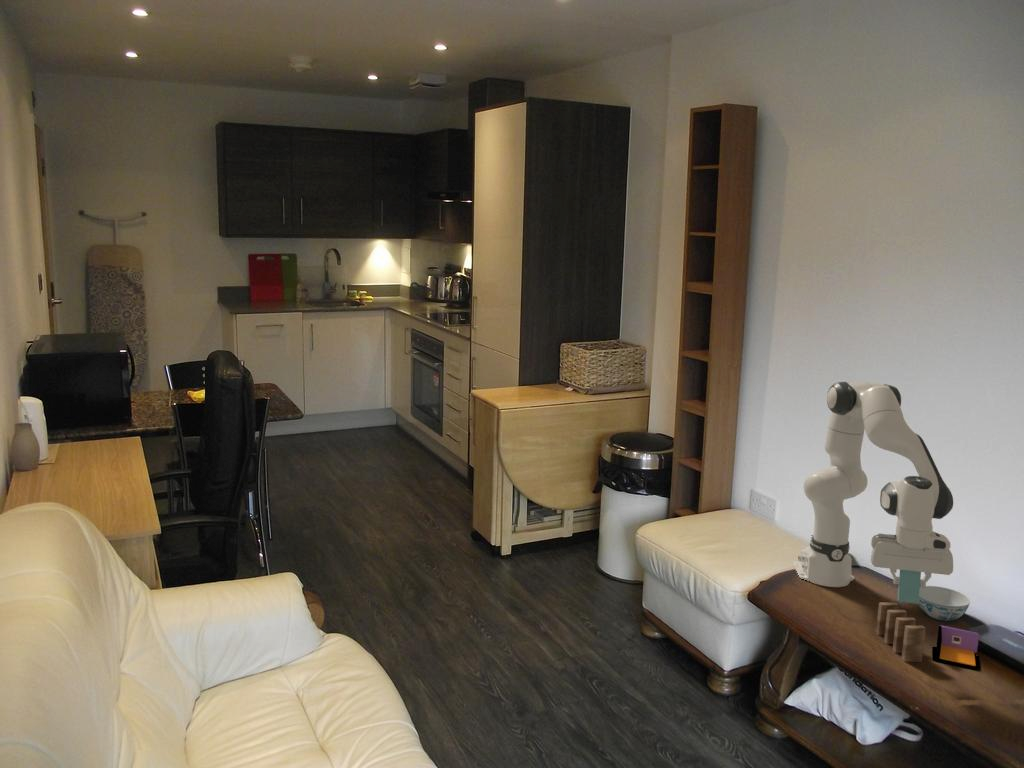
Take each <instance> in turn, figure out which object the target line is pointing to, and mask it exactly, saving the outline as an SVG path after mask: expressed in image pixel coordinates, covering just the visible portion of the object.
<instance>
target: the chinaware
mask: <svg viewBox="0 0 1024 768" xmlns="http://www.w3.org/2000/svg"><path fill="white" fill-rule="evenodd" d="M970 604H971V600H970V598H969V597H968V596H967V595H966V594H964V593H961V592H960V591H957V590H954V589H952V588H951V589H950V588H948V587H943V586H934V585H926V588H922V587H920V589H919V600H918V604H917V605H918V606H919V607H920V609H921V610H922V612H924V613H925V615H927V616H929V617H930V618H932V619H935V620H939V621H943V622H944V621H945V622H949V621H955V620H957V619H959V618H960V617H962V616H963V615H965V613H966V612H967V610H968V608H969V607H970Z"/></svg>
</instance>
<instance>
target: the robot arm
mask: <svg viewBox="0 0 1024 768" xmlns="http://www.w3.org/2000/svg"><path fill="white" fill-rule="evenodd" d="M826 402H827V407H828V409H829V410H830V411H831V414H830V417H829V422H828V428H827V431H826V437H825V444H824V449H825V452H826V453H827V454H828V455H829V459H830V465H829V468H827V469H822V470H818V471H815V472H813V473H812V474H811V475H808V476H807V478H806V479H805V480H804V482H803V491H804V494H805V496H806V498H807V499H808V500H809V501H810V502H811V504H812V507H813V513H814V520H813V521H814V522H813V523H814V524H813V534H812V535H810V536H811V537H810V538H811V539H810V542H809V545H808V546H807V547H805V548H802V550H801V551H800V554H798V555H797V560H793V561H792V564H793V567H794V570H795V572H796V571H797V572H796V574H797V573H798V574H797V576H798V575H799V577H800V578H801V579H804V580H803V581H805V580H807V581H806V582H809V581H810V583H813V584H815V585H817V586H821V587H822V586H823V587H828V588H842V587H843V588H844V587H846V586H849V584H850V583H851V582H852V581H854V580H855V576H854V575H852V556H851V555H850V554H849V552H850V548H849V547H850V542H849V535H850V526H851V520H850V518H849V516H848V515H847V514H846V513H845V511H844V501H845V500H848V499H852V498H855V497H857V496H858V495H860V494H862V493H863V492H865V490H866V489H867V487H868V477H867V474H866V473H865V471H864V470H863V468H862V462H861V452H862V447H863V440H864V435H865V433H866V436H867V438H868V440H869V442H871V443H872V444H873V445H874V446H876V447H878V448H879V449H882V450H884V451H888V452H891V453H894V454H897V455H900V456H902V457H904V458H906V459H907V460H909V462H911V463H912V465H913V466H914V468H915V471H916V472H917V475H908V476H906V477H904V478H902V480H900V481H899V480H898V481H891V482H887V483H886V484H885V485H884V486H883V487H882V488H881V491H880V495H879V496H880V498H879V501H880V502H879V503H880V507H881V508H882V509H883V510H884V511H885V513H887V514H888V515H891V516H893V517H894V516H896V517H897V522H896V526H895V527H896V528H895V529H896V530H895V534H889V533H888V534H885V533H877V534H874V535H873V536H872V538H871V541H870V542H871V543H870V544H871V547H872V550H871V555H870V562H871V565H872V566H874V567H875V568H880V569H881V568H883V569H889V571H890V573H891V575H892V577H893V580H892V581H893V585H898V586H899V585H900V578H899V576H897V575H896V573H897V570H899V571H900V570H907V571H916V572H921V573H924V577H923V578H922V579H921V578H920V587H922V588H926V586H927V582H928V581H929V580H930V579H931V578H932V574H934V575H935V574H936V575H944V576H945V575H946V576H950V575H952V574H953V572H954V556H953V554H952V552H951V550H950V548H951V542H950V540H949V538H948V537H946V536H945V535H943V534H941V533H939V532H936V531H934V529H933V528H934V527H933V524H932V523H933V522H932V520H933V519H936V520H941V519H943V518H944V517H946V516H947V515H948V514H949V513H951V511H952V510H953V507H954V498H953V494H952V492H951V489H950V488H949V486H948V485H947V484H946V482H945V481H944V479H943V478H942V476H941V473H940V471H939V469H938V467H937V465H936V463H935V461H934V459H933V457H932V454H931V452H930V451H929V448H928V446H927V445H926V443H925V441H924V440H923V438H922V436H920V434H918V433H917V432H914V430H912V428H911V427H910V426H909V425H908V423H907V421H906V420H905V417H904V414H903V411H902V408H901V406H902V394H901V393H900V391H899V389H898V388H897V387H896V386H894V385H891V384H887V383H883V384H882V383H875V382H871V381H863V382H862V381H861V382H860V381H859V382H858V381H855V382H854V381H853V382H851V381H850V382H847V381H837V382H834V383H833V384H832V385H831V386H830V387H829V388H828V391H827V397H826ZM799 577H798V578H799ZM801 579H800V580H801Z"/></svg>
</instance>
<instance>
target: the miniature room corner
mask: <svg viewBox="0 0 1024 768" xmlns="http://www.w3.org/2000/svg"><path fill="white" fill-rule="evenodd" d="M979 634H980V633H978V632H975V631H971V630H970V631H969V630H966V629H960V628H957V627H956V628H955V627H952V626H946V625H938V630H937V638H936V639H937V640H936V646H932V647H931V659H932V661H933V662H935V663H940V664H943V665H946V666H947V665H948V666H951V667H957V668H962V669H966V670H971V671H975V672H980V671H981V668H982V667H981V660H980V659H979V658H980V656H976V654H977V652H978V646H979V639H980V638H979V637H980V635H979ZM954 638H958V639H959V640H958V641H956V640H955V639H954Z"/></svg>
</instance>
